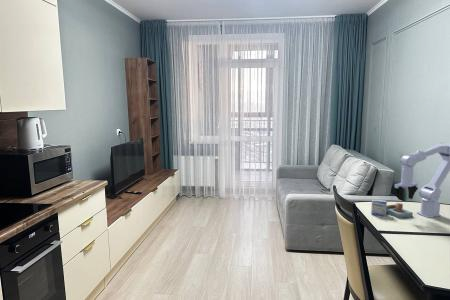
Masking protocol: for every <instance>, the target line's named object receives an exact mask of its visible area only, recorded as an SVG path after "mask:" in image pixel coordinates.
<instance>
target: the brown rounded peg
mask: <svg viewBox="0 0 450 300" xmlns="http://www.w3.org/2000/svg"><path fill="white" fill-rule="evenodd" d="M403 206H404V205H403V203H401V202H396V212H402V209H404V208H403Z"/></svg>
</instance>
